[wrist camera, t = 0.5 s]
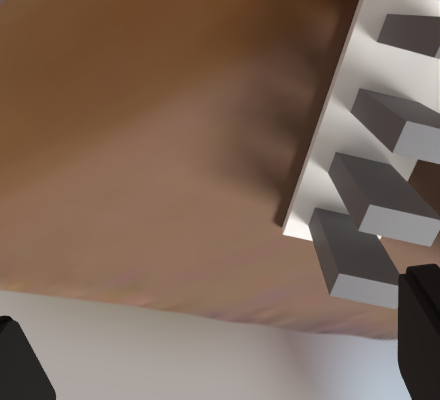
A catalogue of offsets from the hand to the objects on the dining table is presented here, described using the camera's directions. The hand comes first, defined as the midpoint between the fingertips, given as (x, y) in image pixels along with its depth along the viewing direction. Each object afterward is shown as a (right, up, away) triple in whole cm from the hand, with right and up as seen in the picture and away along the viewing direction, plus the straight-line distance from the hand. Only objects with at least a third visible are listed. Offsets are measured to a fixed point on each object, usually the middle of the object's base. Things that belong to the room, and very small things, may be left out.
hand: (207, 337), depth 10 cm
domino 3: (+12, +6, +25) cm, 28 cm away
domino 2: (+14, +11, +22) cm, 28 cm away
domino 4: (+11, +1, +27) cm, 30 cm away
